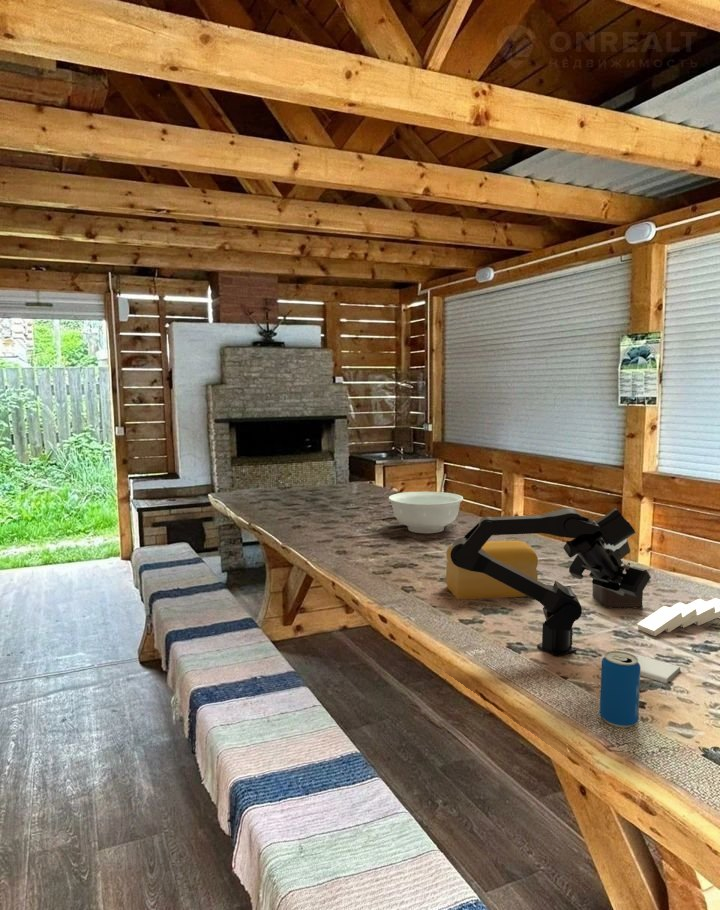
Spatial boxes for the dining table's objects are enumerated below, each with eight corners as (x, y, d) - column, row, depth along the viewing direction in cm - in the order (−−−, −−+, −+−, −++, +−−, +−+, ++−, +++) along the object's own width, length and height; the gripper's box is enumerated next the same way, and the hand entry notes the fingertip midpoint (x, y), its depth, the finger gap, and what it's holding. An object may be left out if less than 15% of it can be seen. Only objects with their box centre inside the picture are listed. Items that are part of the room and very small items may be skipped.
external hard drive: (666, 686, 127) (606, 667, 136) (680, 673, 133) (622, 656, 141) (667, 678, 127) (607, 660, 135) (680, 666, 132) (622, 649, 141)
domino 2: (667, 626, 153) (695, 608, 156) (651, 619, 158) (679, 602, 161) (668, 632, 154) (697, 613, 157) (652, 625, 158) (680, 607, 161)
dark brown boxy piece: (645, 608, 171) (648, 544, 169) (606, 608, 170) (609, 545, 169) (620, 590, 186) (622, 531, 184) (583, 590, 186) (586, 532, 184)
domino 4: (697, 620, 157) (730, 606, 158) (683, 611, 162) (716, 597, 163) (698, 625, 157) (731, 611, 159) (684, 616, 162) (716, 603, 164)
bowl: (372, 529, 269) (372, 496, 268) (422, 519, 291) (422, 488, 290) (429, 542, 246) (429, 506, 244) (478, 530, 268) (478, 496, 266)
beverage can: (630, 734, 108) (633, 668, 107) (594, 721, 112) (596, 657, 111) (642, 719, 113) (645, 656, 112) (607, 707, 117) (609, 646, 116)
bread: (457, 600, 178) (458, 549, 177) (445, 586, 191) (445, 538, 189) (538, 596, 181) (539, 546, 180) (520, 582, 194) (522, 536, 193)
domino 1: (653, 630, 151) (681, 612, 154) (637, 623, 155) (664, 605, 159) (655, 636, 151) (682, 617, 155) (638, 629, 156) (665, 611, 159)
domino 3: (682, 622, 156) (714, 606, 157) (667, 614, 160) (699, 598, 162) (683, 628, 156) (715, 611, 158) (668, 619, 161) (700, 603, 162)
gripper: (647, 535, 136) (675, 576, 142) (578, 520, 152) (606, 558, 158) (623, 575, 132) (652, 616, 139) (555, 556, 148) (584, 593, 155)
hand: (622, 593), depth 148 cm, fingers closed
